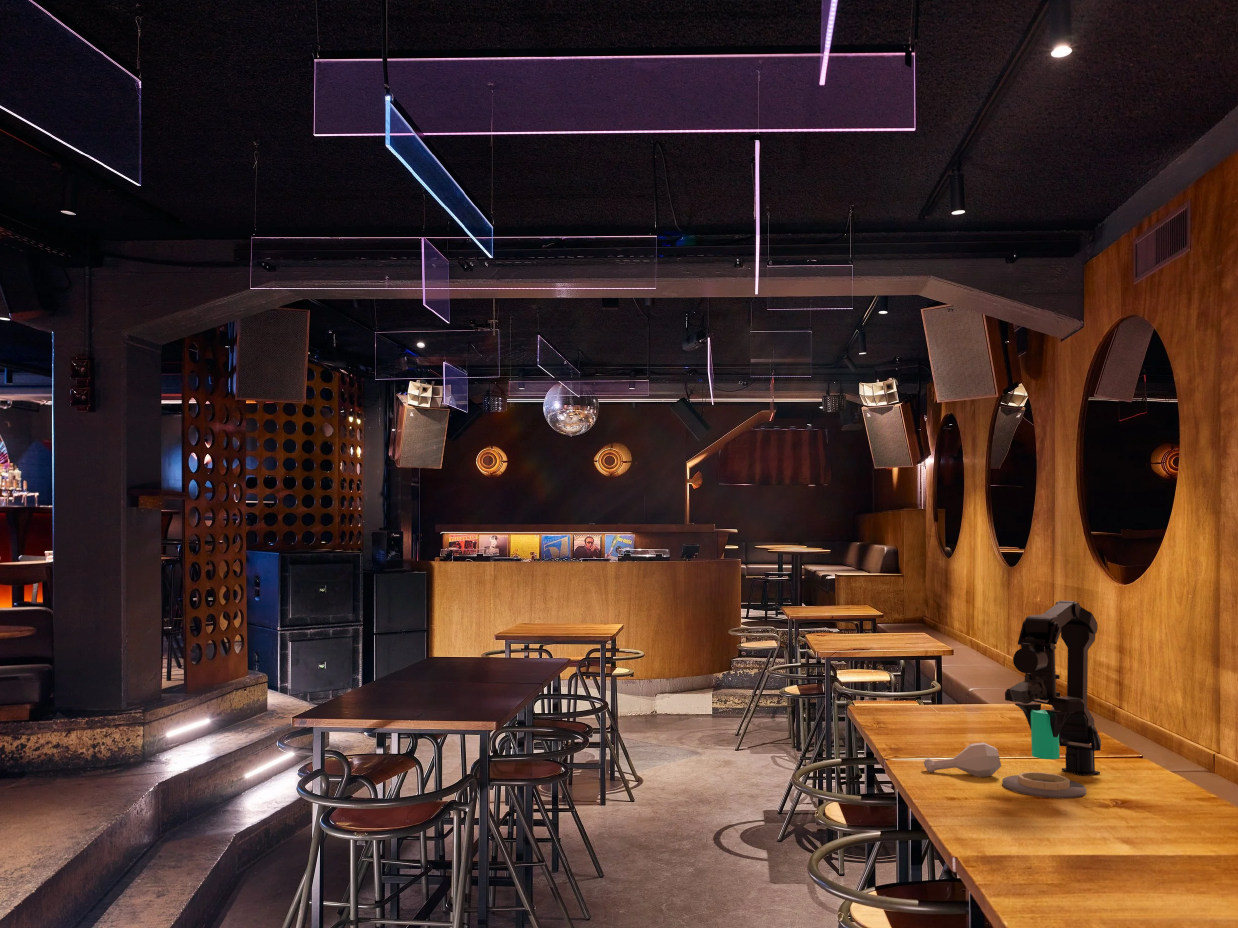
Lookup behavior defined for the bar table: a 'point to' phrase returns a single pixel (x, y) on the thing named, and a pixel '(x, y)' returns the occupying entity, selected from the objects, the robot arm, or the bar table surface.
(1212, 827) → the bar table surface
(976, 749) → the chicken leg
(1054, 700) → the robot arm
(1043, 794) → the candle holder
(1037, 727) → the candle
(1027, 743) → the bar table surface
